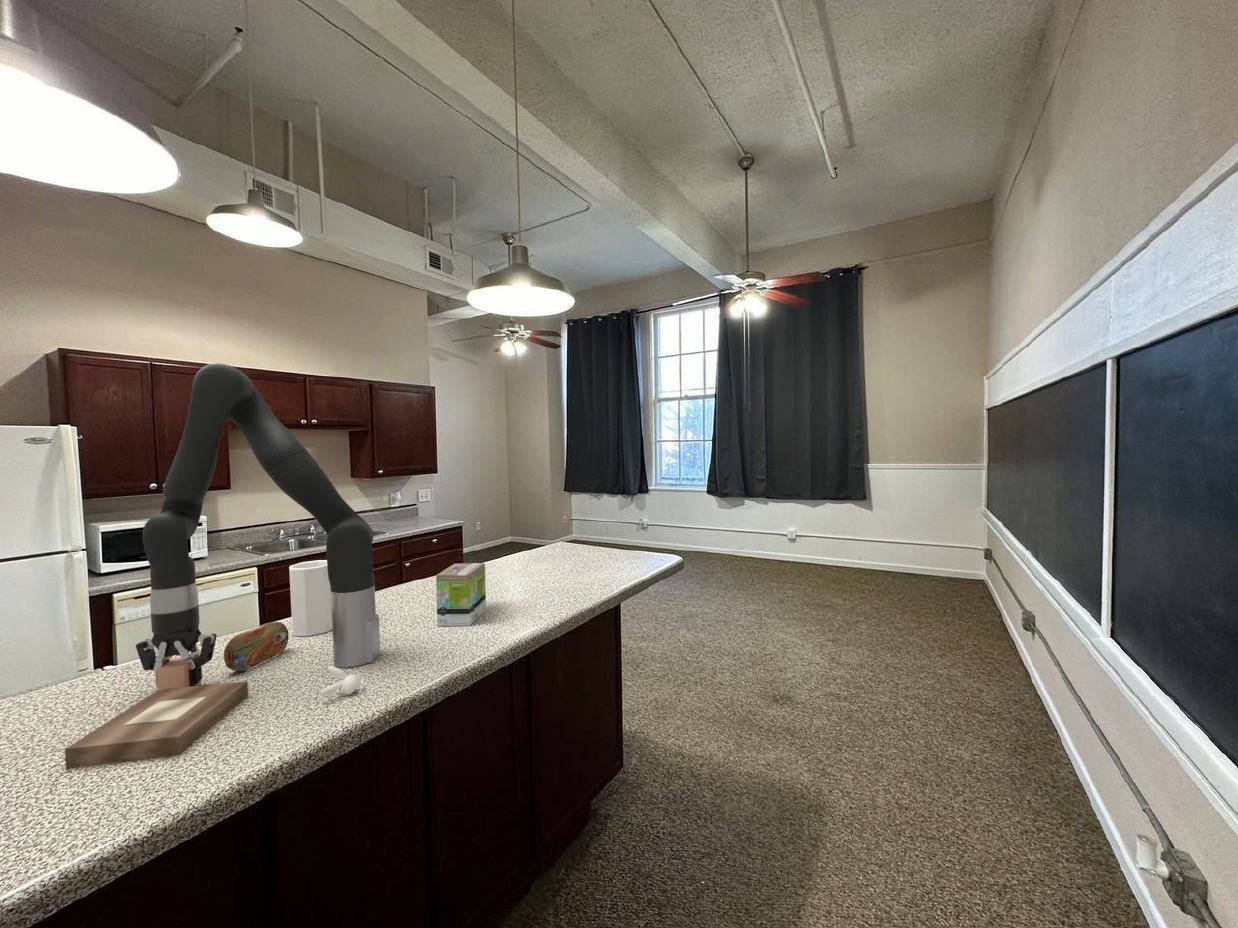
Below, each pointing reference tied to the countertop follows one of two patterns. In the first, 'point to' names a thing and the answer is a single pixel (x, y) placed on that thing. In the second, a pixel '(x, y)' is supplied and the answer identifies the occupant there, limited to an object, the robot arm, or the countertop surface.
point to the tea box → (460, 594)
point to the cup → (310, 598)
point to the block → (173, 675)
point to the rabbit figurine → (343, 682)
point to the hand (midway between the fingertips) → (179, 686)
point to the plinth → (158, 725)
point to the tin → (256, 646)
